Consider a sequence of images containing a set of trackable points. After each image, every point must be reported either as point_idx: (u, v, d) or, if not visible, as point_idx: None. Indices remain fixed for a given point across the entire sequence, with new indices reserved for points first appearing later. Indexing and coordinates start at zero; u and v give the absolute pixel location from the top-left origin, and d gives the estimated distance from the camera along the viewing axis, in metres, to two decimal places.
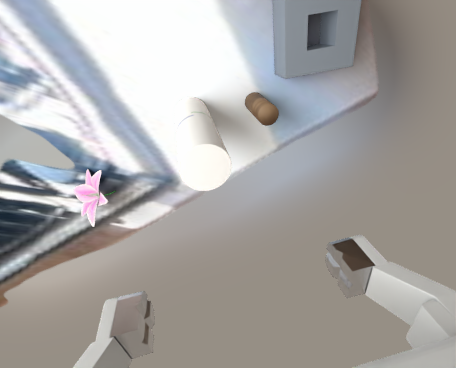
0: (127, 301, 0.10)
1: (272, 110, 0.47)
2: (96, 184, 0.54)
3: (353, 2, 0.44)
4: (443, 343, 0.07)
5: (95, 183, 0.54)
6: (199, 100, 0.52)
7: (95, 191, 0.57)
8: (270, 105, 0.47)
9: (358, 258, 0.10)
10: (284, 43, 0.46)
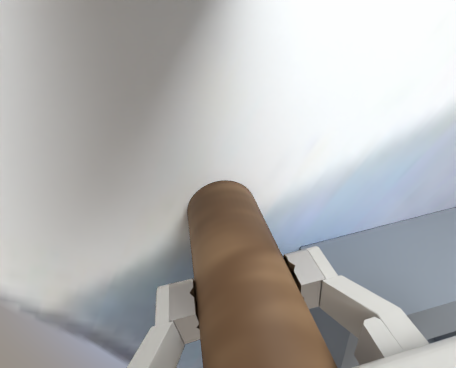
0: (179, 287, 0.10)
1: None
2: None
3: None
4: (443, 343, 0.07)
5: None
6: None
7: None
8: None
9: (309, 271, 0.10)
10: (446, 293, 0.14)
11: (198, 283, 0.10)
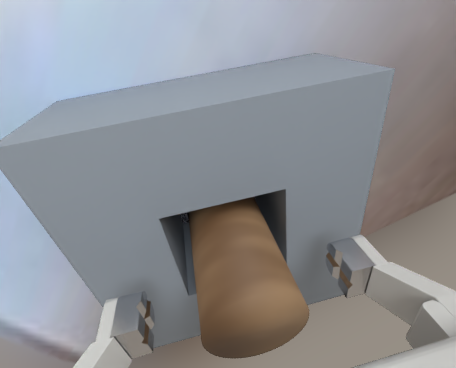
0: (127, 301, 0.10)
1: (277, 335, 0.10)
2: None
3: None
4: (443, 343, 0.07)
5: None
6: None
7: None
8: (302, 322, 0.10)
9: (358, 258, 0.10)
10: (177, 108, 0.09)
11: (193, 231, 0.12)
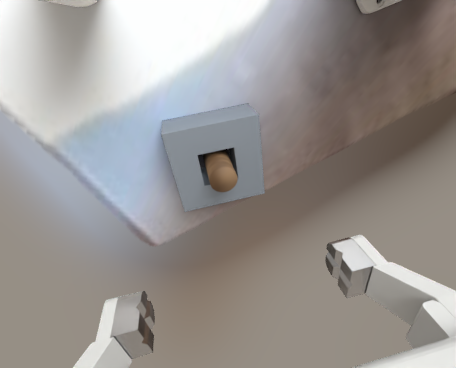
0: (127, 301, 0.10)
1: (229, 184, 0.36)
2: None
3: (244, 191, 0.43)
4: (443, 343, 0.07)
5: None
6: None
7: None
8: (236, 180, 0.36)
9: (357, 258, 0.10)
10: (203, 124, 0.36)
11: (206, 162, 0.39)
